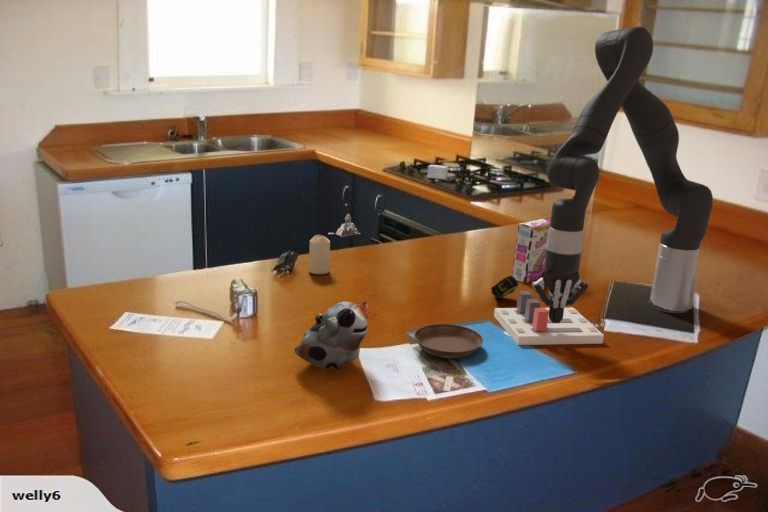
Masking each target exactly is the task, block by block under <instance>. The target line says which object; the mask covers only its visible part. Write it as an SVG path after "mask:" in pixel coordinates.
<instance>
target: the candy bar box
mask: <svg viewBox="0 0 768 512" xmlns="http://www.w3.org/2000/svg"><path fill="white" fill-rule="evenodd" d="M550 221H551V220H548V219H543V218H540V219H535V220H531V221H530V220H529V221H525V222H520V223H518V227H517V235H516V243H515V252H514V255H513V256H514V257H513V258H514V259H513V266H512V272H511V273H512V274H511V276H513V277H514V278H515V279H516V280H517V282H520V283H523V284H527V283H529V282H533V281H535V280H539V279H540V278H541V275H542V273H543V271H544V263H545V254H546V245H547V237H548V232H549V228H550Z"/></svg>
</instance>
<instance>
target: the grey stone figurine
mask: <svg viewBox="0 0 768 512" xmlns="http://www.w3.org/2000/svg"><path fill="white" fill-rule="evenodd" d="M344 220H345V222H344V223H341V225H340V226H339V228H337V231H336V232H335V233H334V232H328V235H334V234H335V235H337V236H338V237H339V236H340V237H341V238H343V237H347V236H348V237H349V236H355V235H361V233H360V231H359V229H358V228H356V225H355V224H354V223H353V222H352V217H351V214H350V213H347V214H346V216H345V217H344Z"/></svg>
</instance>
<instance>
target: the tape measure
mask: <svg viewBox="0 0 768 512" xmlns="http://www.w3.org/2000/svg"><path fill="white" fill-rule="evenodd" d="M518 287H519V281H517V280H516V279H515V278H514V277H513V276H512V275H509V276H506V277H504V278H502V279H501V280H500V281H498V282H497V283H495V285H493V286H492V287H491V292H490V293H491V294H492V295H493V296H494V297H495V298H496V299H498V300H500V299H502V298H503V299H504V298H505V297H507V296H508V295H510V294H513V293H515V290H516V289H517V288H518Z"/></svg>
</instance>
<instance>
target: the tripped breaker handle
mask: <svg viewBox="0 0 768 512" xmlns="http://www.w3.org/2000/svg"><path fill="white" fill-rule="evenodd" d="M545 308H546V307H540V308H535V309H534V317H533V325H532V327H533V328H534V329H535V330H536V331H546V330H547V322H548V315H549V311H547V310H546V309H545Z"/></svg>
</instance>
